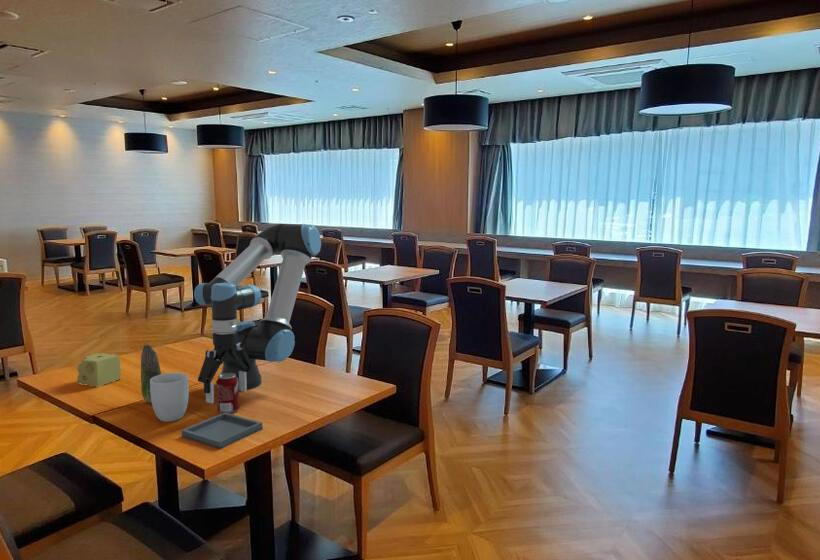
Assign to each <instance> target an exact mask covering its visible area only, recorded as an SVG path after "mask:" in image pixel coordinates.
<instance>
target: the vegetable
mask: <svg viewBox="0 0 820 560" xmlns="http://www.w3.org/2000/svg"><path fill="white" fill-rule="evenodd" d="M160 366H161V365H160V362H159V358H158V355H157V352H156V351H155V350H154V349H153V348H152V346H151V345H150V344H144V345H143V346H142V351H141V355H140V383H141V385H140V386H141V396H142V399H143V400H144V401H145V402H147V403H151V404H152V401H151V394H150V379H151V378H152V377H154V376H157V375H161V374H162V373H161V372H162V371H161V367H160Z"/></svg>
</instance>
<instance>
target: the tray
mask: <svg viewBox="0 0 820 560" xmlns="http://www.w3.org/2000/svg"><path fill="white" fill-rule="evenodd" d="M262 430H263V422H261V421H257V420H254V419H251V418H246V417H243V416H239V415H235V414H233V413H230V414H229V413H219V414H218V415H215V416H212V417H211V418H208V419H205V420H203V421H201V422H198V423H196V424H193V425H190V426H188V427H185V428H184V429H181V431H180V432H181V438H185V439H188V440H190V441H194V442H197V443H200V444H203V445H206V446H208V447H209V446H210V447H212V448H215V449H219V450H222V449H223V448H226V447H228V446H230V445H232V444H234V443H237V442H239V441H240V440H242V439H245V438H247V437H249V436H250V435H253V434H255V433H257V432H259V431H262Z"/></svg>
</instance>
